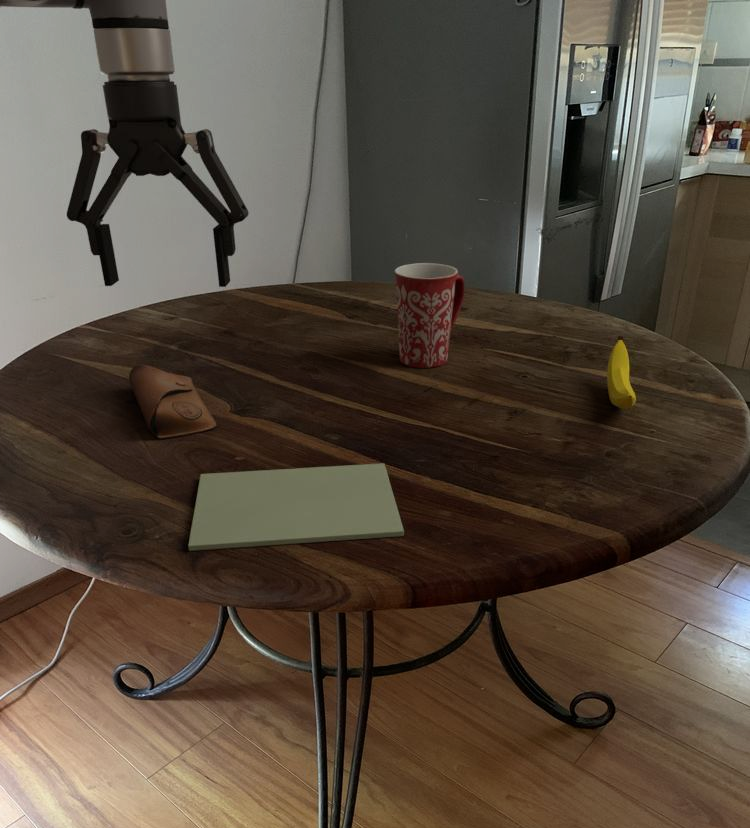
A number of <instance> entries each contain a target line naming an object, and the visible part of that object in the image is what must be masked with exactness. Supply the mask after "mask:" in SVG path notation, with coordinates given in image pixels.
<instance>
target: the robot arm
mask: <svg viewBox="0 0 750 828" xmlns="http://www.w3.org/2000/svg"><path fill="white" fill-rule="evenodd" d="M0 7H5V8H6V7H7V8H9V7H10V8H55V9H56V8H57V9H58V8H63V9H64V8H66V9H67V8H68V9H69V8H70V9H71V8H72V9H75V10H76V9H78V10H82V9H88V10H89V14H90V17H91V25H92V29H93V30H92V31H93V36H94V42H95V49H96V55H97V61H98V69H99V72H100V74H102V75H105V76H106V79H107V81H104V82H103V85H102V86H101V87H102V91H103V97H104V103H105V104H104V105H105V109H106V116H107V121H108V123H109V124H108V125H109V128H108V132H102V131H98V130H97V129H94V128H92V129H87V130H83V131H81V133H80V142H81V144H80V145H81V157H80V160H79V164H78V168H77V172H76V176H75V179H74V183H73V187H72V191H71V195H70V199H69V203H68V206H67V210H66V218H67V220H69V221H70V222H76V223H80V224H82V225H83V226H84V227H85V229H86V233H87V238H88V243H89V249H90V253H91V254H92V255H93V256H98V257H99V262H100V266H101V267H100V268H101V272H102V277H103V282H104V286H105V287H112V286H113V285H115V284H117V283H118V282H119V281H120V277H119V273H118V266H117V261H116V255H115V249H114V244H113V238H112V232H111V227H110V223H102V222H104V217H105V216H106V214H107V213H108V211H109V209H110V208H111V206H112V204H113V203H114V201H115V199H116V198H117V196H118V195H119V193H120V191H121V190H122V188H123V187H124V185H125V183H126V181H127V180H128V179H129V177H130V176H131V175H132V174H133V175H135V176H136V177H144V176H148V175H153V176H156V177H166V176H167V175H169V174H171V175H172V176H173V177H174V178H175V179H176V180H178V181H179V182H180V183H181V184H182V185H183V186H184V187H185V188H186V189H187V191H188V192H189V193H190V194H191V195H192V197H194V198H195V200H196V201H197V202H198V203H199V204H200V205H201V206H202V207H203V209H204V210H205V211H206V212H207V213H208V214H209V215H210V216H211V217H212V218H213V219H214V221H215V222H216V223H217V224H216V225H215V226H214V227H213V228H212V234H213V242H214V251H215V259H216V261H215V262H216V270H217V271H216V272H217V277H218V278H217V280H218V287H219V288H226V287H227V286H228V285H229V283H231V274H230V264H229V257H233V256H234V255H235V252H236V250H237V249H236V248H237V247H236V238H235V224H238V223H241V222H243V221H244V220H246V219H247V217H248V216H249V213H250V211H249V209H248V207H247V206H246V203H244V200H243V199H242V197H241V195H240V193H239V191H238V190H237V188H236V186H235V184H234V182H233V180H232V179H231V177H230V175H229V173H228V172H227V169H226V168H225V166H224V164H223V162H222V161H221V158H220V157H219V154H218V153H217V151H216V148H215V147H216V146H215V143H214V137H213V134H212V132H211V130H210V129H208V128H203V129H201V130H198V131H193V132H187V133H186V132H185V130H184V128H183V126H182V119H181V110H180V103H179V95H178V86H177V84H175V81H173V80H171V78H170V75H173V74H174V73H175V63H174V56H173V46H172V37H171V30H170V26H169V19H168V8H167V0H0ZM188 145H189V146H190V147H191V148H192V150H193V152H194V153H196V154H199V156H200V159H201V161H202V163H203V165H204V166H205V167H204V168H206V170H207V172H208V174H209V176H210V177H211V179H212V181H213V182H214V185H215V187H216V188H217V190H218V192H219V193H220V195H221V197H222V199H223V201H224V203H225V204H226V206H227V208H226V206H225V205H224V204H223V203H222V202H221V201H220V199H219V198H218V197H217V196H216V195H215V194H214V192H212V190H211V189H210V188H209V187H208V186H207V185H206V184H205V183H204V181H203V180H202V179H201V178H200V177H199V176H198V175H197V174H196V172H195V171H194V170H193V168H192V166H191V165H190V164H189V163H188V161H186V160H185V158H184V157H183V154H184V152H185V150H186V148H187V147H188ZM107 146H109V147H110V149H111V150H112V151H113V153H115V155H116V156H117V160H116V162H115V163H114V164H113V167H112V169H111V170H110V174H109V175H108V177H107V179H106V180H105V182H104V184H103V186H102V187H101V189H100V191H99V192H98V194H97V195H96V197H95V199H94V201H93V202H92V204H91V205H90V207H89V209H88V205H89V202H90V199H91V194H92V191H93V187H94V184H95V179H96V176H97V172H98V169H99V165H100V161H101V157H102V153H104V152H105V151H106V149H107ZM87 209H88V210H87Z"/></svg>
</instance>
